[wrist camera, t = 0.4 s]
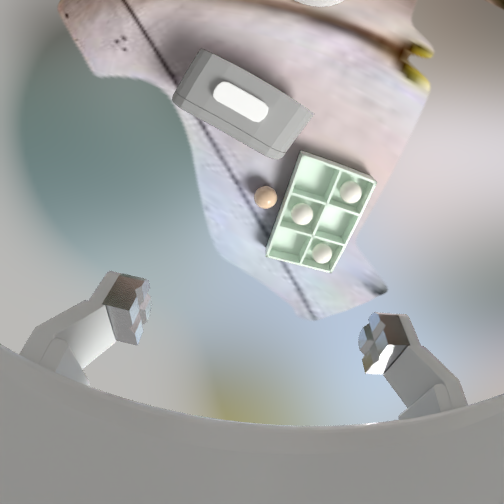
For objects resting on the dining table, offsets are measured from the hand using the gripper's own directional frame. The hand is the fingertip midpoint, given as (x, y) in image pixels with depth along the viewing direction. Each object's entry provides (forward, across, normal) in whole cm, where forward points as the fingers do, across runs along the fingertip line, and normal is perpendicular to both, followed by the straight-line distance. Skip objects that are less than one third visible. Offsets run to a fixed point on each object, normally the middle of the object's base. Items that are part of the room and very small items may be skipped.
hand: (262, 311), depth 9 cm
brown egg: (+45, -2, +14) cm, 47 cm away
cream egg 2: (+45, -16, +24) cm, 53 cm away
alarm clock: (+45, +4, -4) cm, 46 cm away
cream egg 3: (+44, -18, +9) cm, 49 cm away
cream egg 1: (+45, -10, +16) cm, 48 cm away
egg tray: (+45, -14, +16) cm, 50 cm away
